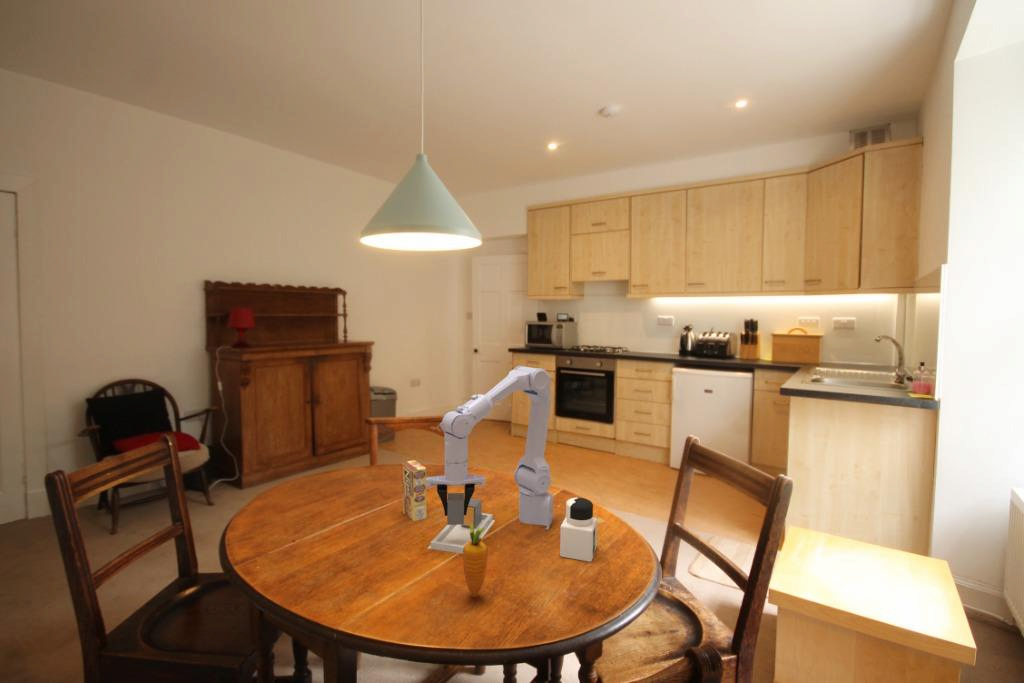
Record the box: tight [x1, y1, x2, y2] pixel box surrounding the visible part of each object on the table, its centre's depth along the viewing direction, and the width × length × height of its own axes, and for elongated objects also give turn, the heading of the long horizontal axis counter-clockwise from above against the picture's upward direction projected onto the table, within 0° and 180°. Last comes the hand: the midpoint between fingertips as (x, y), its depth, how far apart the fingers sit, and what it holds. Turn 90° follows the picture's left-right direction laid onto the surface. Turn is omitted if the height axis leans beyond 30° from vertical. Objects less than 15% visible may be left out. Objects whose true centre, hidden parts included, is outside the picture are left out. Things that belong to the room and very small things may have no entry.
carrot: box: [462, 524, 488, 598], centre depth 95 cm, size 5×5×15 cm
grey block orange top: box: [446, 492, 464, 526], centre depth 117 cm, size 4×5×6 cm
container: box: [559, 497, 598, 563], centre depth 115 cm, size 8×8×13 cm
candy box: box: [401, 460, 427, 522], centre depth 133 cm, size 9×4×15 cm, turn 33°
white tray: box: [427, 512, 496, 555], centre depth 122 cm, size 11×20×2 cm, turn 164°
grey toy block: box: [461, 498, 483, 529], centre depth 127 cm, size 4×5×6 cm
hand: (455, 513), depth 116 cm, fingers closed on grey block orange top, 4 cm apart
